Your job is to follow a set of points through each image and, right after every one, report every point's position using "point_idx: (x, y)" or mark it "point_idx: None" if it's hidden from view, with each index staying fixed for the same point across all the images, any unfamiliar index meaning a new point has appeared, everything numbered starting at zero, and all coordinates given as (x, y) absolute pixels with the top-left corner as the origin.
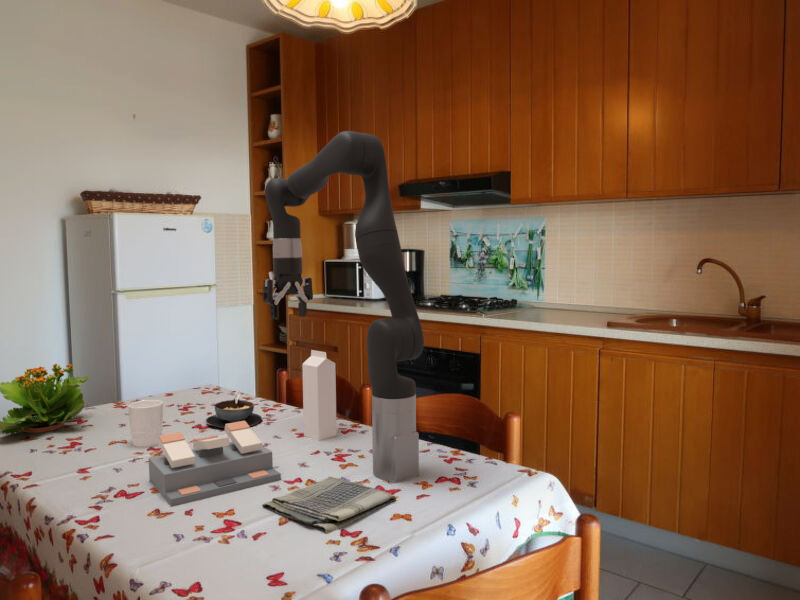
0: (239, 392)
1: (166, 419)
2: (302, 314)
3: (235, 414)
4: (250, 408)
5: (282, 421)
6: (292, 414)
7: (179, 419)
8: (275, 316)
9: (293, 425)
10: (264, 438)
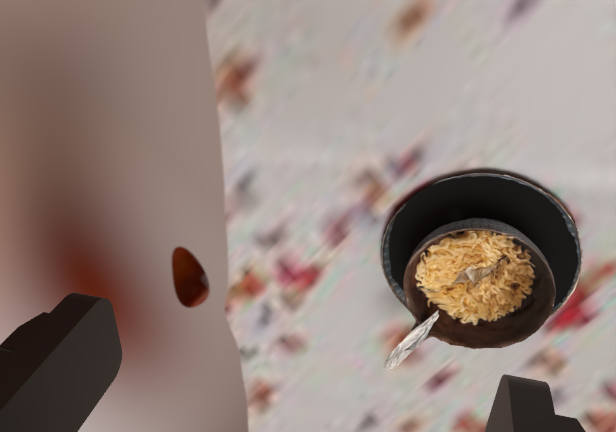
0: (391, 354)
1: None
2: (95, 327)
3: (524, 235)
4: (460, 227)
5: (361, 140)
6: (280, 176)
7: None
8: (559, 423)
9: (371, 67)
10: (569, 20)
